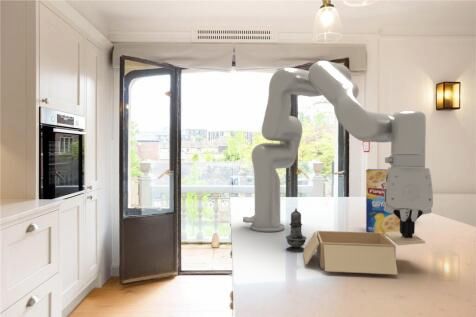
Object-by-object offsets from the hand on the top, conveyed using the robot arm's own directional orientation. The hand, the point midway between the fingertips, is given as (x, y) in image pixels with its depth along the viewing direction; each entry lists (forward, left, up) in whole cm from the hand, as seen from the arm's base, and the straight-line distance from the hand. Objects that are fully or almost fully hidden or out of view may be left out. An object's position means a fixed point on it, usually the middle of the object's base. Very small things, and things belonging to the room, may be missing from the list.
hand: (406, 236), depth 84 cm
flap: (-4, 0, -1) cm, 4 cm away
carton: (-15, 0, -7) cm, 16 cm away
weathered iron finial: (-27, +10, -7) cm, 30 cm away
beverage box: (+4, +37, -7) cm, 38 cm away
